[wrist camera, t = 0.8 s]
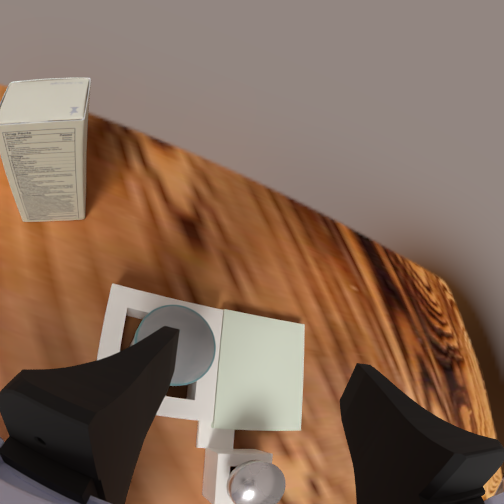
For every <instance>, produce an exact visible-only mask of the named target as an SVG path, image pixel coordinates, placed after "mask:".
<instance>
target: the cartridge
mask: <svg viewBox="0 0 504 504" xmlns="http://www.w3.org/2000/svg"><path fill="white" fill-rule="evenodd" d="M163 326H168V327H172V328H176V329H180V332H179V339H178V347H177V355H176V363H175V371H174V374H173V377H172V380H171V383H170V386H181V385H188V384H191V383H193V382H195V381H197V380H199V379H200V378H202V377H203V376H204V375H205V374H206V373H207V372H208V371H209V369H210V367H211V366H212V363H213V361H214V358H215V352H216V344H215V338H214V334H213V332H212V330H211V328H210V326H209V324H208V323H207V321H206V320H205V319H204V318H203V317H202V316H201V315H200V314H198V313H197V312H196V311H194V310H192V309H190V308H188V307H185V306H181V305H165V306H161V307H158V308H156V309H154V310H152V311H151V312H150V313H148V314H147V315H146V316H145V317H144V319H143V320H142V321H141V323H140V325H139V327H138V328H137V330H136V333H135V336H134V339H133V341H132V342H131V344H130V346H132V345H134V344H136V343H137V342H139V341H141V340H142V339H144V338H146V337H147V336H149V335H151V334H152V333H154V332H155V331H157V330H158V329H160V328H162V327H163ZM130 346H129V347H130Z"/></svg>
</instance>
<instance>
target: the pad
mask: <svg viewBox="0 0 504 504" xmlns="http://www.w3.org/2000/svg"><path fill="white" fill-rule="evenodd" d="M304 325H305V324H299V323H293V322H288V321H283V320H277V319H272V318H267V317H262V316H257V315H252V314H247V313H242V312H237V311H232V310H227V309H224V310H223V318H222V328H221V339H220V349H219V360H218V371H217V382H216V393H215V405H214V416H213V422H212V423H211V428H217V429H233V430H261V431H293V430H301V416H302V395H303V369H304Z"/></svg>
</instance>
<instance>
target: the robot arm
mask: <svg viewBox="0 0 504 504" xmlns="http://www.w3.org/2000/svg"><path fill="white" fill-rule="evenodd" d="M179 332H180V329H176V328H172V327H168V326H163V327H162V328H160V329H158V330H157V331H155V332H154V333H152V334H151V335H149V336H147V337H146V338H144V339H142V340H141V341H139V342H137V343H136V344H134V345H132V346H130V347H128V348H126V349H124V350H122V351H120V352H118V353H116V354H113V355H111V356H108V357H106V358H103V359H100V360H97V361H93V362H89V363H85V364H81V365H77V366H72V367H66V368H58V369H46V370H22V371H21V372H20V373H18V374H17V375H16V376H15V377H14V378H13V379H12V380H11V381H10V382H9V383H8V384H7V385H6V386H5V387H4V388H3V389H2V390H1V392H0V412H1V415H2V418H3V420H4V423H5V425H6V428H7V430H8V433H9V435H10V436H9V438H8V439H7V440H6V441H5V442H4V441H3V440H2V438H1V437H0V504H125V500H126V496H127V493H128V489H129V486H130V482H131V479H132V475H133V472H134V469H135V466H136V463H137V460H138V456H139V454H140V451H141V448H142V445H143V442H144V439H145V436H146V434H147V432H148V430H149V428H150V426H151V423H152V421H153V419H154V417H155V415H156V413H157V411H158V409H159V407H160V405H161V403H162V401H163V399H164V397H165V395H166V393H167V391H168V389H169V386H170V383H171V380H172V377H173V374H174V371H175V363H176V355H177V347H178V339H179ZM340 409H341V418H342V423H343V427H344V431H345V435H346V439H347V443H348V446H349V450H350V454H351V458H352V462H353V467H354V474H355V484H356V498H357V504H504V492H503V493H500V494H498V495H495V496H492V497H490V498H488V499H487V500H485V501H483V499H482V497H481V496H483V495H484V494H485V490H484V488H483V485H484V484H485V483H486V482H487V481H488V480H489V479H490V478H491V477H492V476H493V475H494V474H495V472H496V471H497V470H498V469H499V468H500V466H501V465H502V463H503V461H504V448H503V446H502V445H501V443H500V442H499V441H498V440H496V439H492V438H488V437H484V436H481V435H477V434H474V433H471V432H468V431H466V430H463V429H461V428H458V427H456V426H454V425H452V424H450V423H448V422H446V421H444V420H442V419H440V418H438V417H437V416H435V415H433V414H432V413H430V412H429V411H427V410H425V409H424V408H423V407H421V406H420V405H418V404H417V403H416V402H414V401H413V400H412V399H411V398H409V397H408V396H407V395H406V394H404V393H403V392H402V391H401V390H400V389H398V388H397V387H396V386H395V385H394V384H393V383H391V382H390V381H389V380H388V379H387V378H386V377H385V376H383V375H382V374H381V373H380V372H379V371H378V370H376V369H375V368H374V367H372V366H371V365H367V364H359V363H357V364H356V366H355V369H354V371H353V373H352V375H351V378H350V380H349V382H348V384H347V386H346V388H345V390H344V393H343V395H342V397H341V399H340Z"/></svg>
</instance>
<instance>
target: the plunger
mask: <svg viewBox="0 0 504 504" xmlns="http://www.w3.org/2000/svg"><path fill="white" fill-rule="evenodd" d="M226 489H227V494H228V496H229V498H230V499H231V501H232V502H233V503H234V504H277V503H278V501H279V500H280V499H281V497H282V496H283V493H284V490H285V478H284V475H283V473H282V471H281V470H280V469H279V468H278V467H277V466H275V465H273V464H271V463H268V462H265V461H261V460H250V461H246V462H244V463H242V464H240V465H238V466H237V467H236V468H235V469H234V470H233V471H232V472H231V473H230V475H229V478H228V480H227V485H226Z"/></svg>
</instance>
